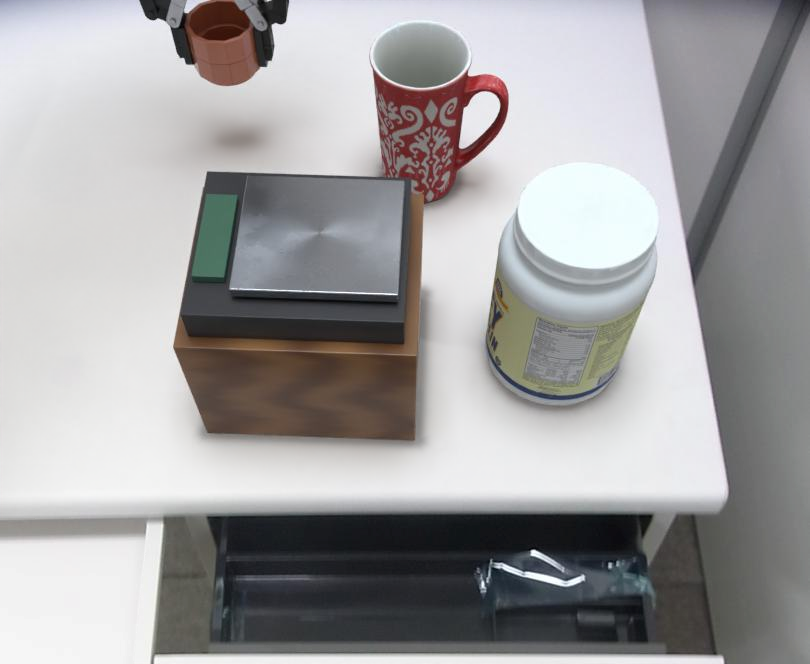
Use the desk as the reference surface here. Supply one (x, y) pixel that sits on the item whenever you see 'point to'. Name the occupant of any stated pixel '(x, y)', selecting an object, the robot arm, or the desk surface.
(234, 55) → the bowl
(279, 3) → the robot arm
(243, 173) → the scale
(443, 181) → the mug
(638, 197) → the supplement tub
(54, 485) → the desk surface
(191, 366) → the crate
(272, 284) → the scale pan
